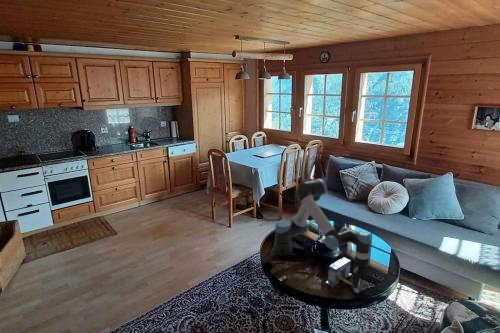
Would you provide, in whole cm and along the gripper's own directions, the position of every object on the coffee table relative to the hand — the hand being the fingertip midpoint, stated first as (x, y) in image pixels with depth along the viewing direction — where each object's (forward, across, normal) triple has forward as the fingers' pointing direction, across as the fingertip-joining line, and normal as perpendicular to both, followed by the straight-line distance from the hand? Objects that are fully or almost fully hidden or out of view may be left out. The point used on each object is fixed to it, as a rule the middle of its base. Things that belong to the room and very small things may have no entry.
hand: (358, 290), depth 177 cm
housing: (0, 0, +14) cm, 14 cm away
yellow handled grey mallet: (0, 0, +8) cm, 8 cm away
